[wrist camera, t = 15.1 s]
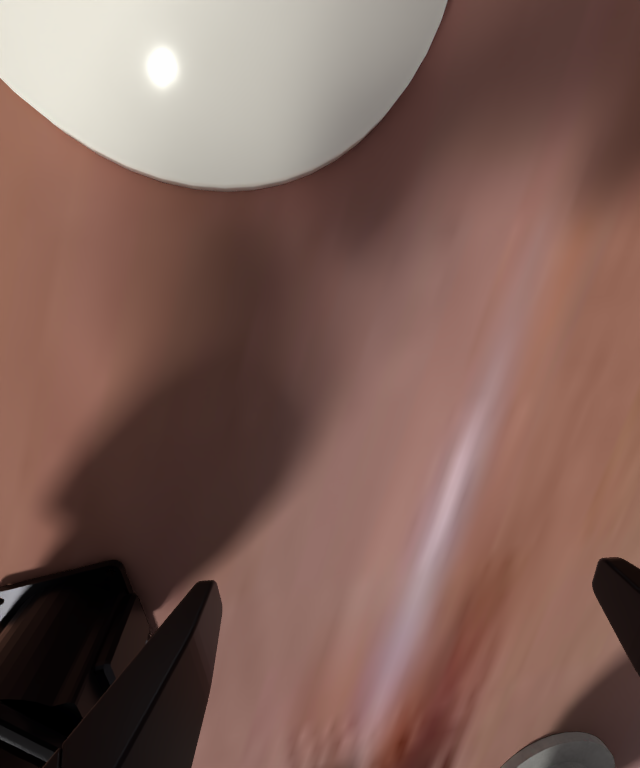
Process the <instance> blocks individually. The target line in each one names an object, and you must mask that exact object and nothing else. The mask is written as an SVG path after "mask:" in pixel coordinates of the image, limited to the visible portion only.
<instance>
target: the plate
mask: <svg viewBox="0 0 640 768" xmlns="http://www.w3.org/2000/svg"><path fill="white" fill-rule="evenodd" d="M447 1H448V0H0V78H1V79H2V80H3V81H4V82H5V83H6V84H7V85H8V86H9V87H10V88H11V89H12V90H13V91H14V92H15V93H16V94H18V95H19V96H20V97H21V98H23V99H24V100H25V101H26V102H27V103H29V104H30V105H31V106H32V107H34V108H35V109H36V110H37V111H39V112H40V113H41V114H42V115H43V116H45V117H46V118H47V119H48V120H50V121H51V122H52V123H53V124H55V125H56V126H57V127H58V128H59V129H61V130H62V131H63V132H64V133H66V134H67V135H69V136H70V137H72V138H73V139H75V140H76V141H78V142H79V143H81V144H83V145H84V146H86V147H87V148H89V149H90V150H92V151H93V152H95V153H96V154H98V155H100V156H102V157H104V158H106V159H108V160H110V161H112V162H114V163H116V164H118V165H120V166H122V167H124V168H126V169H128V170H130V171H132V172H135V173H138V174H141V175H143V176H146V177H149V178H152V179H155V180H157V181H160V182H163V183H168V184H172V185H177V186H181V187H186V188H190V189H195V190H208V191H220V192H234V191H250V190H259V189H264V188H268V187H273V186H278V185H283V184H286V183H289V182H291V181H294V180H297V179H299V178H302V177H305V176H308V175H310V174H312V173H314V172H316V171H318V170H320V169H321V168H323V167H325V166H327V165H329V164H330V163H332V162H334V161H336V160H337V159H339V158H340V157H341V156H343V155H344V154H345V153H347V152H348V151H349V150H350V149H352V148H353V147H354V146H356V145H357V144H358V143H360V142H361V141H362V140H363V139H364V138H365V137H366V136H367V135H368V134H369V133H370V132H371V131H372V130H373V129H374V128H375V127H376V126H377V125H378V124H379V123H380V121H381V120H382V119H383V117H384V116H385V115H386V114H387V112H388V111H389V110H390V108H391V107H392V106H393V104H394V103H395V102H396V101H397V99H398V98H399V97H400V95H401V94H402V93H403V91H404V90H405V89H406V87H407V86H408V85H409V83H410V81H411V80H412V78H413V76H414V75H415V73H416V71H417V69H418V68H419V66H420V64H421V63H422V61H423V59H424V57H425V56H426V54H427V52H428V50H429V47H430V45H431V43H432V41H433V38H434V36H435V34H436V31H437V29H438V27H439V25H440V22H441V20H442V17H443V14H444V11H445V7H446V4H447Z"/></svg>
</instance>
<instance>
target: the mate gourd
mask: <svg viewBox="0 0 640 768" xmlns="http://www.w3.org/2000/svg"><path fill="white" fill-rule="evenodd" d="M501 768H615V762H614V757H613V756H612V754H611V753H610V751H609V750H608V748H607V747H606V746H605V744H604V743H603V742H602V741H601V740H600V739H598V738H597V737H596V736H593V735H591V734H588V733H583V732H565V733H560V734H556V735H552V736H549V737H546V738H544V739H541V740H539V741H537V742H535V743H533V744H531V745H529V746H527V747H525V748H524V749H522V750H521V751H519V752H518V753H517V754H515V755H514V756H513V757H512V758H510V759H509V760H508V761H507V762H506V763H505V764H504V765H503V766H502V767H501Z"/></svg>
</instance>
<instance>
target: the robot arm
mask: <svg viewBox="0 0 640 768" xmlns="http://www.w3.org/2000/svg"><path fill="white" fill-rule="evenodd" d="M109 569H112V570H115V572H112V571H110V570H109ZM592 587H593V591H594V594H595V596H596V598H597V599H598V601H599V603H600V605H601V607H602V609H603V611H604V613H605V615H606V616H607V618H608V620H609V622H610V624H611V626H612V628H613V630H614V631H615V633H616V635H617V637H618V639H619V641H620V643H621V645H622V646H623V648H624V650H625V652H626V654H627V656H628V658H629V659H630V661H631V663H632V665H633V666H634V668H635V670H636V671H637V673H638V675H639V676H640V569H639V568H638V567H636V566H634V565H633V564H631V563H629V562H628V561H626V560H624V559H622V558H619V557H610V558H601V559H600V560H599V561H598V564H597V567H596V571H595V574H594V578H593V581H592ZM0 597H1V598H0V768H191V766H192V762H193V758H194V754H195V750H196V746H197V742H198V738H199V734H200V730H201V726H202V722H203V718H204V714H205V710H206V706H207V702H208V697H209V693H210V688H211V682H212V677H213V670H214V663H215V657H216V650H217V644H218V637H219V631H220V624H221V617H222V602H221V598H220V594H219V590H218V586H217V583H216V582H215V581H214V580H208V581H199V582H197V583H196V584H195V585H194V586H193V588H192V589H191V590H190V591H189V592H188V594H187V595H186V596H185V597H184V598H183V600H182V601H181V602H180V603H179V604H178V606H177V607H176V608H175V609H174V610H173V612H172V613H171V614H170V615H169V616H168V618H167V619H166V620H165V621H164V622H163V624H162V625H161V626H160V627H159V628H158V630H157V631H156V632H155V633H154V634H153V636H152V637H150V635H149V630H150V627H149V625H148V622H147V619H146V617H145V614H144V611H143V609H142V606H141V603H140V601H139V598H138V596H137V595H136V594H135V593H133V590H132V587H131V585H130V582H129V579H128V577H127V574H126V571H125V569H124V566H123V564H122V563H121V562H119V561H117V560H110V561H106V562H102V563H98V564H93V565H89V566H85V567H81V568H77V569H73V570H69V571H65V572H61V573H56V574H52V575H48V576H44V577H40V578H36V579H32V580H28V581H23V582H19V583H15V584H11V585H7V586H3V587H0ZM2 598H3V599H2Z"/></svg>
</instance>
